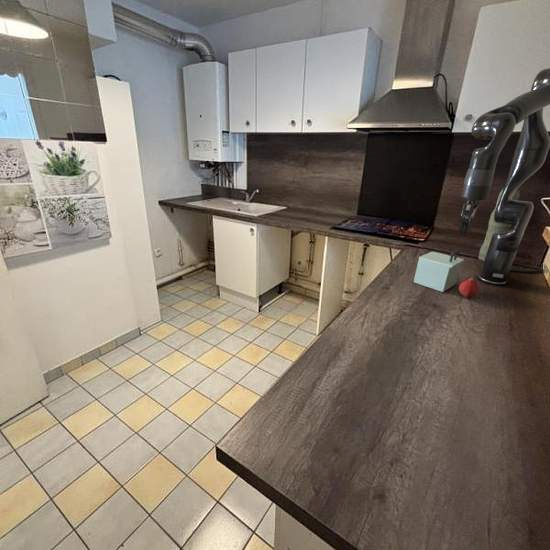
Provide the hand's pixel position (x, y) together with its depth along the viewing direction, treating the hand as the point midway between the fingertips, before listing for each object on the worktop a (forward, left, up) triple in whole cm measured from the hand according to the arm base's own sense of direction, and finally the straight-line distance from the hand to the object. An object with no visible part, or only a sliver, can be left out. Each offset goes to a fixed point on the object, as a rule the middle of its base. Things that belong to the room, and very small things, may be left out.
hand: (463, 232), depth 100 cm
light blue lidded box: (-7, -8, -24) cm, 26 cm away
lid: (-7, -7, -14) cm, 17 cm away
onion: (-4, +5, -24) cm, 25 cm away
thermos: (-60, -4, -24) cm, 64 cm away
